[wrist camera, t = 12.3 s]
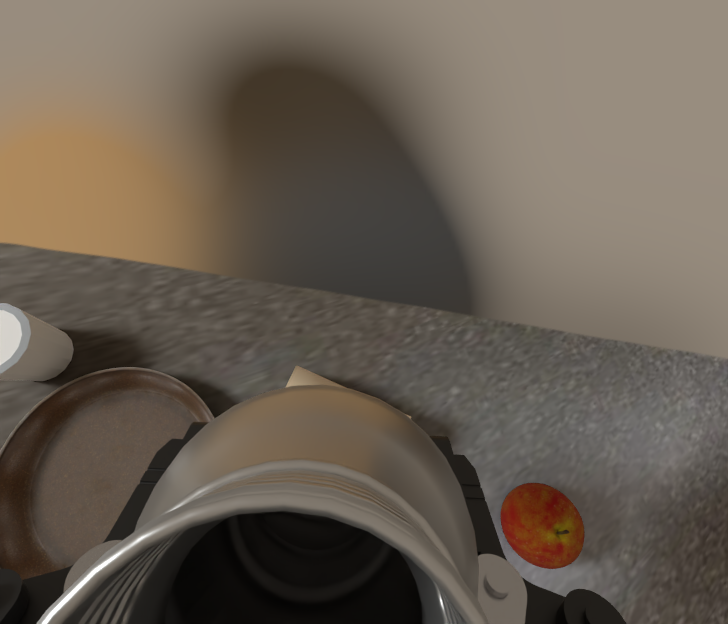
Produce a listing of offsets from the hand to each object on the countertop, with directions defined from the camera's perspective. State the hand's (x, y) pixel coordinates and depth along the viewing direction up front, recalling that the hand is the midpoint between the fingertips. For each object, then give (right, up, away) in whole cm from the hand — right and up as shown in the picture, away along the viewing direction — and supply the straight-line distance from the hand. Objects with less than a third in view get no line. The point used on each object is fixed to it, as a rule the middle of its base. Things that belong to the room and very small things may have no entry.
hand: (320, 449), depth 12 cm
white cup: (-32, 0, +28) cm, 42 cm away
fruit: (+18, -17, +27) cm, 36 cm away
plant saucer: (-22, -12, +25) cm, 36 cm away
